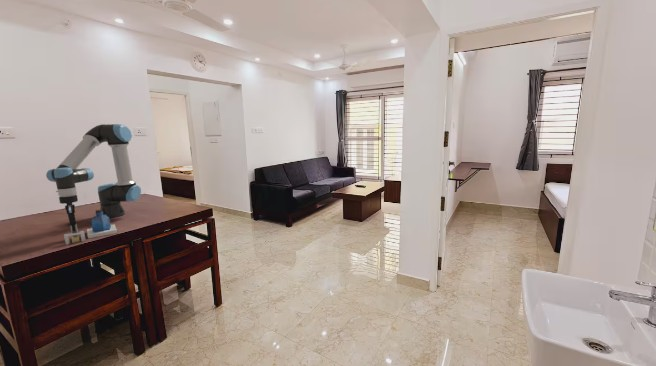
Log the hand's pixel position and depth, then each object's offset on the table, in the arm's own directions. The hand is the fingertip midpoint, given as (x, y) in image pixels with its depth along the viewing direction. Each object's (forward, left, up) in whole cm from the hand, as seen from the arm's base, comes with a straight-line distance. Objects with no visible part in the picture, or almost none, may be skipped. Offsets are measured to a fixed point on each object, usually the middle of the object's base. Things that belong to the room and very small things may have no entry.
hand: (75, 235), depth 162 cm
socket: (0, +12, -2) cm, 12 cm away
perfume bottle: (0, +12, 0) cm, 12 cm away
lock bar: (+5, 0, -2) cm, 6 cm away
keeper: (+9, 0, -2) cm, 9 cm away
